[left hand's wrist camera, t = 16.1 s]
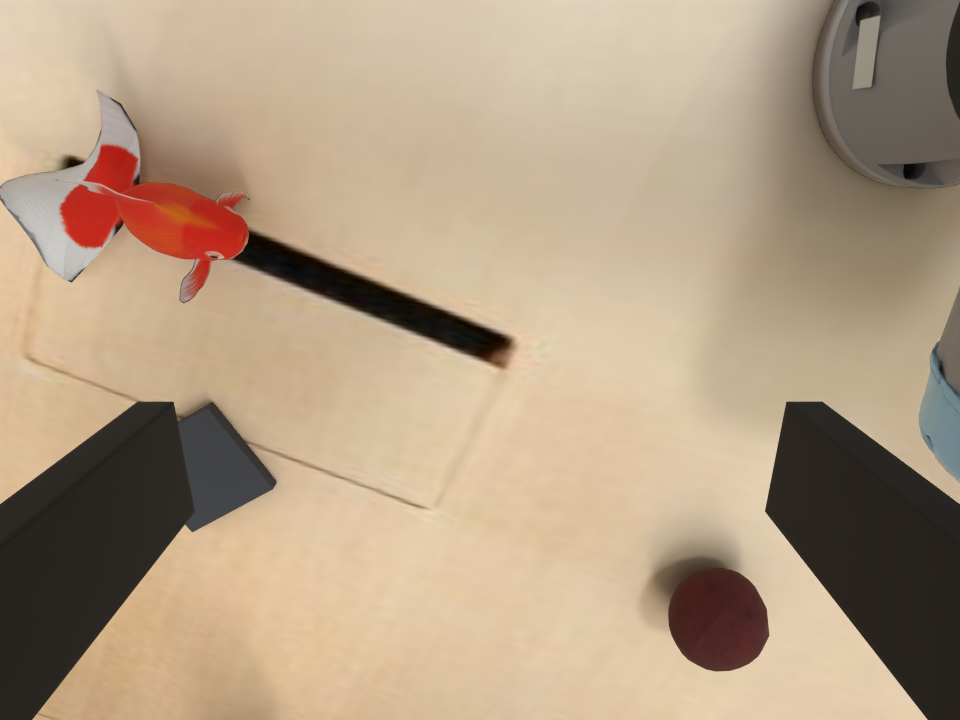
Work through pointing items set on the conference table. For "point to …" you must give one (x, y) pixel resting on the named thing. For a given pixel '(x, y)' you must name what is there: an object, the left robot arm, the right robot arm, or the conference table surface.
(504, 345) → the conference table surface
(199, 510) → the coaster
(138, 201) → the fish
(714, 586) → the dark red ball
